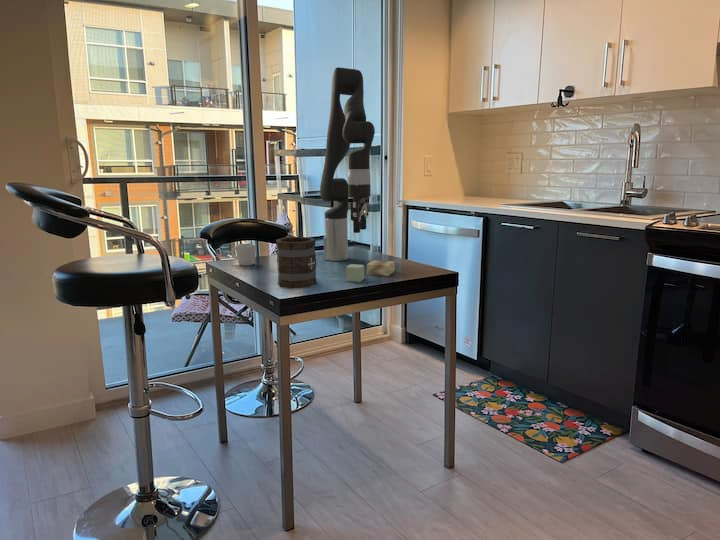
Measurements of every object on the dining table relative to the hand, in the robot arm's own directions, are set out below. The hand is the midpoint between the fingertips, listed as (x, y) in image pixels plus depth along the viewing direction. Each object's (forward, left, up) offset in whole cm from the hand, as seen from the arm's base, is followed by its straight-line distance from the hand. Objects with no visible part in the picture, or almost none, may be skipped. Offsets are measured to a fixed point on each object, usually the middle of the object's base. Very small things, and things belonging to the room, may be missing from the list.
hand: (360, 231), depth 177 cm
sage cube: (-2, -1, -17) cm, 17 cm away
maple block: (+4, +12, -17) cm, 21 cm away
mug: (-20, -8, -17) cm, 27 cm away
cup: (-53, +14, -17) cm, 57 cm away
